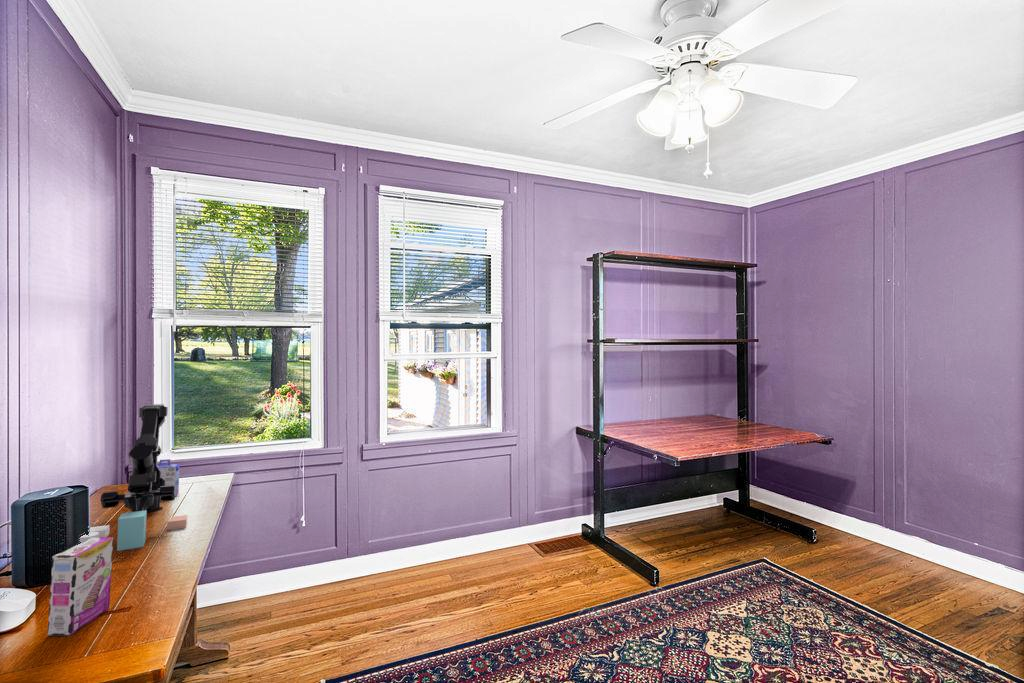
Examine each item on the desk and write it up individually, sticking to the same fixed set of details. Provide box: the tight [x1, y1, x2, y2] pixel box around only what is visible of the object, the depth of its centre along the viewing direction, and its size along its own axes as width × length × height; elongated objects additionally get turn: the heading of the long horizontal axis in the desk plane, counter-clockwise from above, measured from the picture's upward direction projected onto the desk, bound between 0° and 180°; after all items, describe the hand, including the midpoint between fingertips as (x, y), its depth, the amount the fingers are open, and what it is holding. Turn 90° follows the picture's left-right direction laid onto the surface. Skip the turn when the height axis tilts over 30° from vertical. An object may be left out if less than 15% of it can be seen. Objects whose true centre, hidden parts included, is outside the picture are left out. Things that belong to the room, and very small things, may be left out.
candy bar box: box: [47, 536, 114, 637], centre depth 107 cm, size 11×5×16 cm, turn 5°
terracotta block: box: [166, 514, 188, 531], centre depth 161 cm, size 5×5×4 cm
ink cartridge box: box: [157, 458, 180, 499], centre depth 197 cm, size 10×6×14 cm, turn 112°
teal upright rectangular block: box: [116, 510, 148, 552], centre depth 145 cm, size 6×6×9 cm
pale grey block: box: [90, 524, 111, 537], centre depth 150 cm, size 5×5×4 cm
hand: (136, 521), depth 151 cm, fingers closed
